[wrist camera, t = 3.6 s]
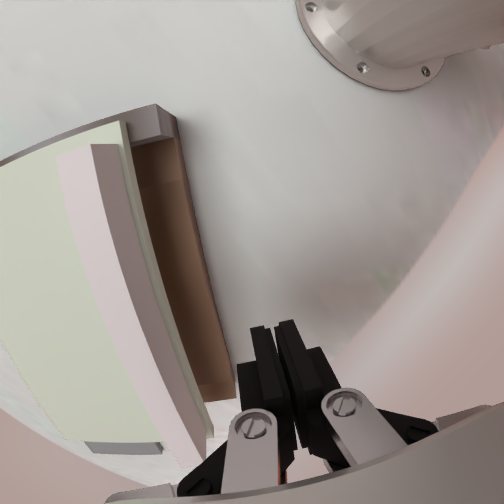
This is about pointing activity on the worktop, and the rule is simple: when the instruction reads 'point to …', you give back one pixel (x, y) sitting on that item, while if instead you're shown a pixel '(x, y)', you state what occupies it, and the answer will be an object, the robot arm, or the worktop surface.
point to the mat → (125, 448)
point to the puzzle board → (173, 241)
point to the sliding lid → (93, 299)
